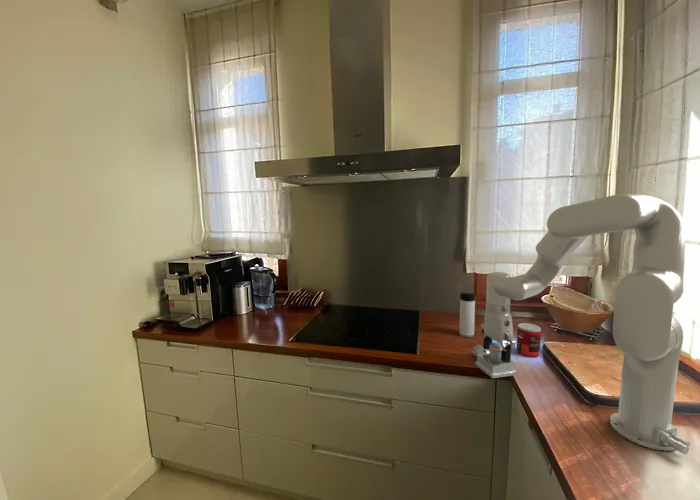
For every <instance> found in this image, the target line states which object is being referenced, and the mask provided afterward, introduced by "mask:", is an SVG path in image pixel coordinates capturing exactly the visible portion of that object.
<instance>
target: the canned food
mask: <svg viewBox="0 0 700 500" xmlns="http://www.w3.org/2000/svg"><path fill="white" fill-rule="evenodd" d="M516 328H517V330H516V335H517V336H516V351H517V353H518V354H519V355H521V356H523V357H526V358H538V357H540V354H541V341H542V339H541V337H542V328H541V327H540V326H539V325H537V324H534V323H527V322H521V323H517V327H516Z"/></svg>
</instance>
